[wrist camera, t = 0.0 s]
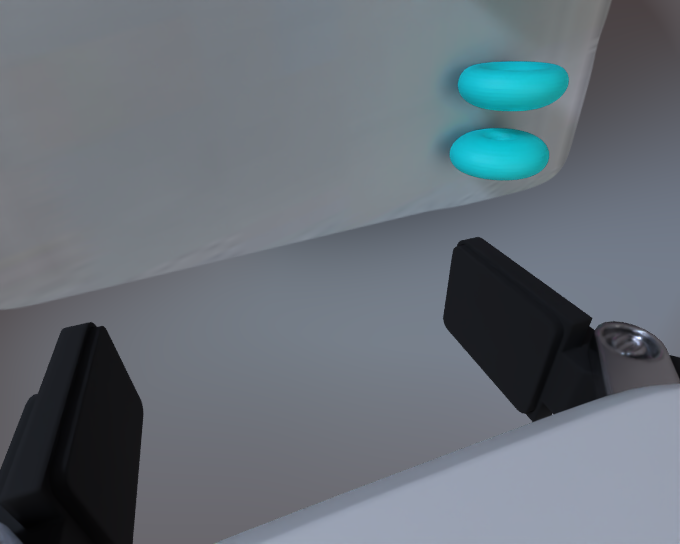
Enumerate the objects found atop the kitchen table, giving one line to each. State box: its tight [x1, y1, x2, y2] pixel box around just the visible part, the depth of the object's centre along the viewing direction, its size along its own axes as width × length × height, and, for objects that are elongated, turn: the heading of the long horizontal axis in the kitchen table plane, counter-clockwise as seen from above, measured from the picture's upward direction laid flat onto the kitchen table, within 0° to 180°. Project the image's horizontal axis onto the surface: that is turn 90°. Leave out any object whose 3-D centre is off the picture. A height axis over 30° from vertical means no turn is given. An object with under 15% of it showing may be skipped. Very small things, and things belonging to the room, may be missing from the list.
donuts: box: [450, 61, 569, 180], centre depth 40 cm, size 10×10×10 cm
